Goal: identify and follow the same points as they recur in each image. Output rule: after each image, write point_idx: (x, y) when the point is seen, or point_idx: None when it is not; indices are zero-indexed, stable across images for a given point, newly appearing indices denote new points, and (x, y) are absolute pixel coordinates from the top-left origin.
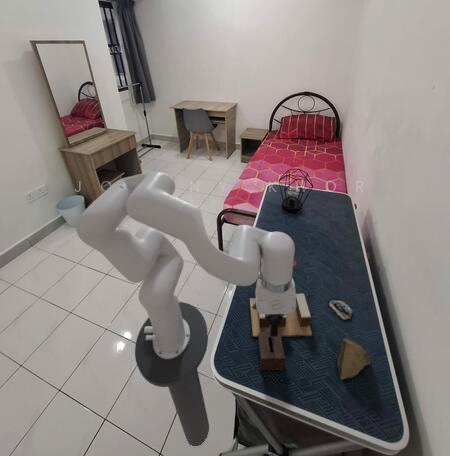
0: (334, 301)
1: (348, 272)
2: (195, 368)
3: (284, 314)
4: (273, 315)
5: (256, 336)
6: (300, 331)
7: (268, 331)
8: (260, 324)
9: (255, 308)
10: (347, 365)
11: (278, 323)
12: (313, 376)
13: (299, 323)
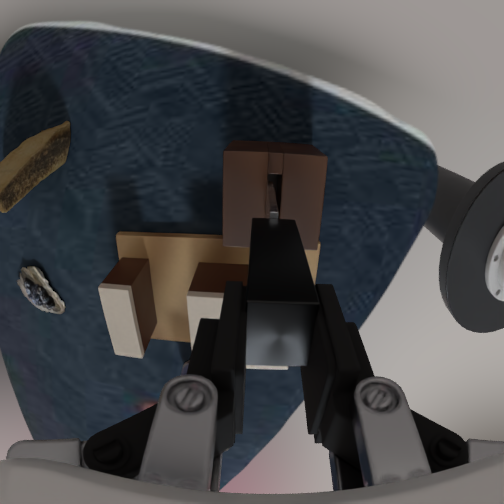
0: (52, 310)
1: (27, 360)
2: (483, 181)
3: (164, 394)
4: (278, 357)
5: None
6: (150, 245)
7: None
8: None
9: (496, 450)
10: (31, 146)
11: (243, 294)
12: (139, 123)
13: (149, 268)
